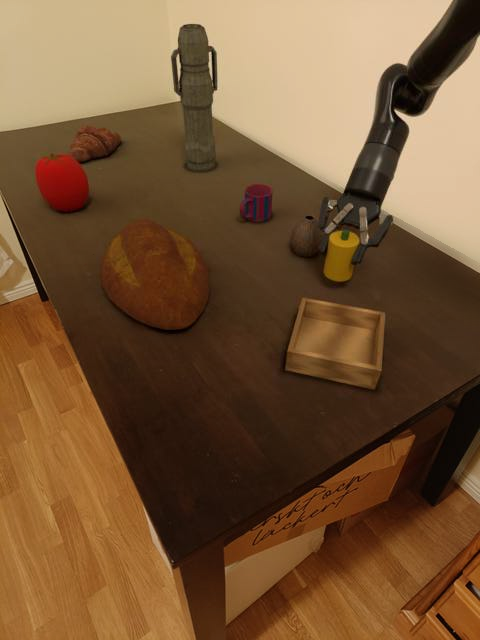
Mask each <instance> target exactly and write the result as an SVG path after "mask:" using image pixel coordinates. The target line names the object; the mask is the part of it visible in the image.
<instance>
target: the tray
mask: <svg viewBox="0 0 480 640" xmlns="http://www.w3.org/2000/svg"><path fill="white" fill-rule="evenodd" d="M385 325H386V312H384V311H379V310H373V309H367V308H362V307H356V306H352V305H345V304H340V303H335V302H330V301H323V300H318V299H313V298H307V297H302V298H301V301H300V304H299V308H298V312H297V316H296V318H295V323H294V326H293V328H292V333H291V336H290V339H289V344H288V346H287V351H286V358H285V367H284V368H285V369H284V370H285V371H287V372H292V373H297V374H301V375H306V376H311V377H315V378H319V379H323V380H328V381H332V382H337V383H342V384H346V385H351V386H354V387H360V388H365V389H370V390H376V388H377V385H378V382H379V379H380V376H381V373H382V371H383V370H382V369H383V355H384V342H385V341H384V339H385Z"/></svg>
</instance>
